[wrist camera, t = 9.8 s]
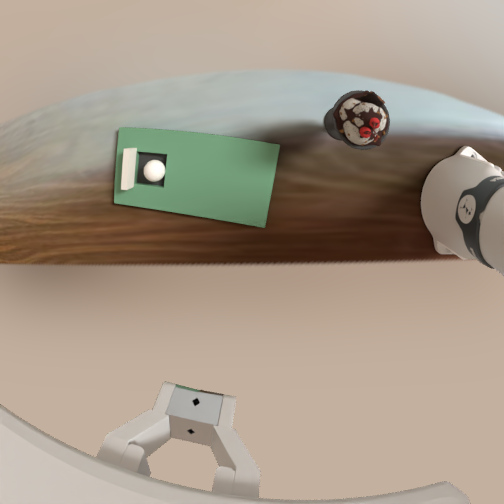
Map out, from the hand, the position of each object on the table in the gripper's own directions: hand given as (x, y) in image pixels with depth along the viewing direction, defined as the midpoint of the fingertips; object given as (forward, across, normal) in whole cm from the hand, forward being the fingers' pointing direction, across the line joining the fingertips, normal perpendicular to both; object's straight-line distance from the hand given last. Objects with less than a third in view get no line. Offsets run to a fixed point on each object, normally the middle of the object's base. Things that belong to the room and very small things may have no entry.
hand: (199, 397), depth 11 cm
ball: (+32, +15, -3) cm, 36 cm away
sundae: (+34, -10, -14) cm, 38 cm away
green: (+34, +10, -3) cm, 36 cm away
